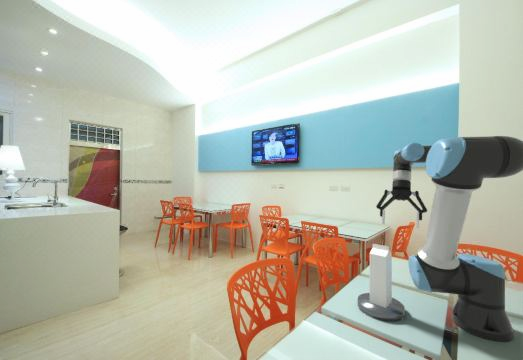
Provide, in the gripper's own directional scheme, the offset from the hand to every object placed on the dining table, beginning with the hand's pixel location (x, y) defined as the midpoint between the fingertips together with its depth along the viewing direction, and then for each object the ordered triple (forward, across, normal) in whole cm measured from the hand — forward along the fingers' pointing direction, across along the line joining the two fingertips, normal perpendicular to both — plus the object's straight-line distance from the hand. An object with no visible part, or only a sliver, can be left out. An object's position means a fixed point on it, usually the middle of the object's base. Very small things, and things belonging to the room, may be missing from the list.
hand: (399, 225), depth 107 cm
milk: (+32, +4, +16) cm, 36 cm away
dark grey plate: (+34, +4, +15) cm, 38 cm away
